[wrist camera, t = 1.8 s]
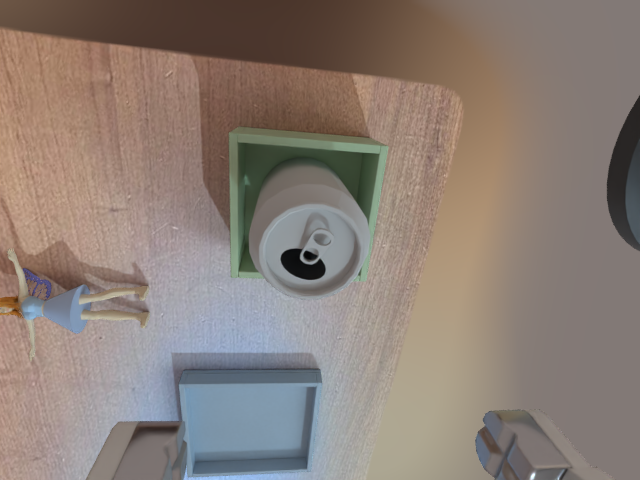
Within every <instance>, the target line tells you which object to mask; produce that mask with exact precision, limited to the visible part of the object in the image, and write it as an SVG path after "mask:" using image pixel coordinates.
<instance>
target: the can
mask: <svg viewBox="0 0 640 480" xmlns="http://www.w3.org/2000/svg"><path fill="white" fill-rule="evenodd" d="M369 243H370V231H369V227H368V222H367V218H366V217H365V215H364V214H363V212H362V210H361V209H360V207H359V206H358V204H357V202H356V201H355V200H354V198H353V197H352V195H351V194H350V192H349V191H348V190H347V188H346V187H345V185H344V184H343V183H342V181H341V180H340V178H339V177H338V175H337V174H336V173H335V171H334V170H332V169H331V168H330V167H329V166H328V165H326V164H325V163H324V162H321V161H318V160H316V159H313V158H305V157H296V158H292V159H289V160H285V161H283V162H281V163H280V164H278V165H277V166H275V167H274V168H273V169H271V171H270V172H269V173H268V175H267V176H266V177H265V179H264V180H263V183H262V186H261V189H260V193H259V196H258V200H257V204H256V208H255V212H254V216H253V220H252V223H251V227H250V231H249V253H250V255H251V258H252V260H253V263H254V265H255V268H256V269H257V270H258V272H259V273H260V274H261V275H262V276H263V277H264V279H265V280H266V281H267V282H268V283H270V284H271V285H272V286H273V287H274V288H275V289H277V290H278V291H280V292H282V293H283V294H285V295H287V296H290V297H294V298H298V299H301V300H318V299H322V298H325V297H329V296H332V295H334V294H336V293H338V292H339V291H341V290H343V289H344V288H346V287H347V286H348V285H349V284H350V283H351V282H352V281H353V280H354V279H355V278H356V277H357V275H358V273H359V271H360V269H361V267H362V265H363V263H364V261H365V259H366V257H367V255H368V251H369Z"/></svg>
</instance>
